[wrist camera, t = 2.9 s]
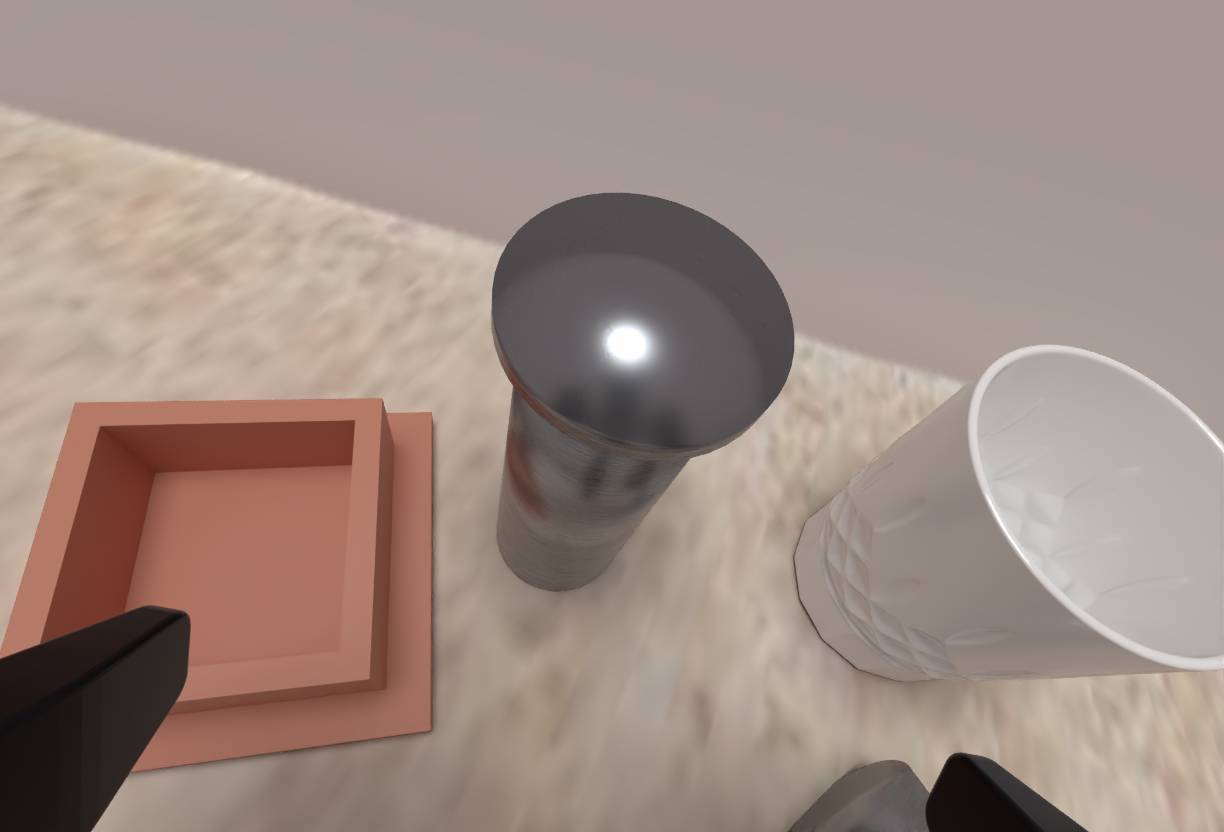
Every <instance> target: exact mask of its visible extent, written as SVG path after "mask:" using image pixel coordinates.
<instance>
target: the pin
mask: <svg viewBox="0 0 1224 832" xmlns="http://www.w3.org/2000/svg"><path fill="white" fill-rule="evenodd" d="M929 795H930V794H929V792H928V791H927V790H926V788H925V787H924V785H923V784H922V783H921V781H920V780H919V779H918V777H917V776H916V775H915V773H914V772H913V771H912V769H911V768H910V767H909V765H908V764H906V763H905V762H902V761H898V760H886V761H880V762H876V763H873V764H870V765H867V766H865V767H862V768H860V769H858V770H856V771H854V772H852V773H850V774H848V775H847V776H845V777H843V778H842V779H840V780H839V781H837V782H836V783H834V784H833V785H832V786H831V787H830V788H829V789H828V790H827V791H826V792H825V793H824V794H823V795H822V796H821V797H820V798H819V799H818V800H817V801H816V802H815V803H814V804H813V805H812V806H811V807H810V808H809V809H808V810H807V811H806V812H805V813H804V815H803V816H802V817H801V818H800V819H799V820H798V821H797V822H796V823H795V825H794V827H793V828H792V830H791V832H929V830H928V827H927V823H926V817H925V807H926V801H927V799H928V797H929Z"/></svg>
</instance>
